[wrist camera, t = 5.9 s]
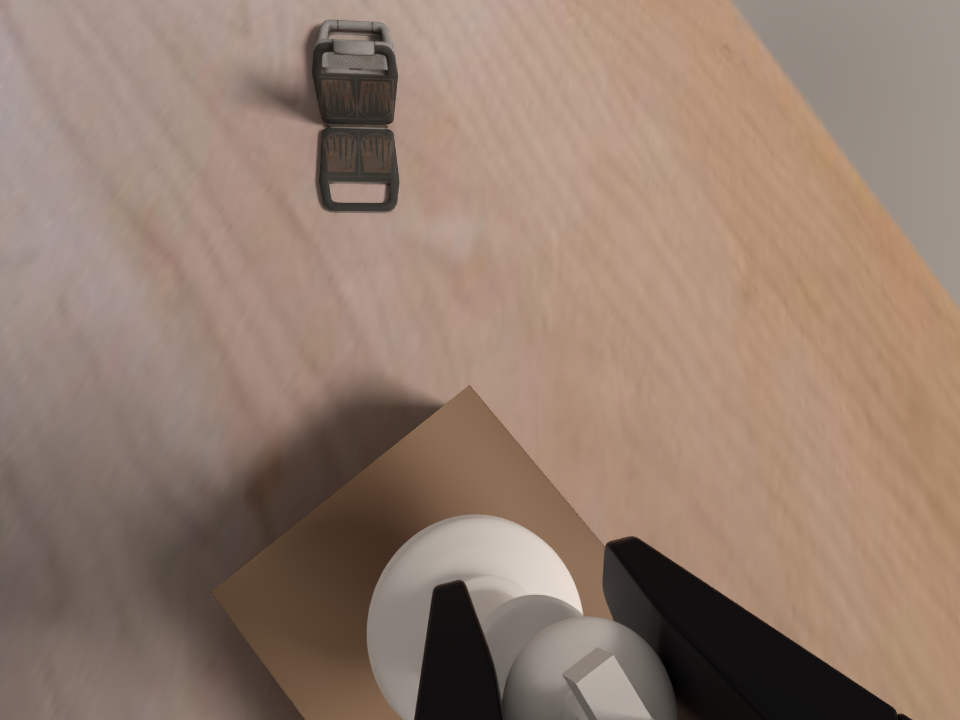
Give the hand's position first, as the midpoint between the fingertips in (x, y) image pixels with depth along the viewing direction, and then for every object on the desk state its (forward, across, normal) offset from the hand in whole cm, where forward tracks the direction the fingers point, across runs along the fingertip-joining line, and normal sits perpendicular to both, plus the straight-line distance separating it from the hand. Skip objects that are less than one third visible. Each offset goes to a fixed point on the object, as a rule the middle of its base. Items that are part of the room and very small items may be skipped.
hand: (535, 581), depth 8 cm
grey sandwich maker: (+22, 0, -3) cm, 22 cm away
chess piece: (+4, 0, +6) cm, 7 cm away
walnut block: (+8, 0, +10) cm, 13 cm away
